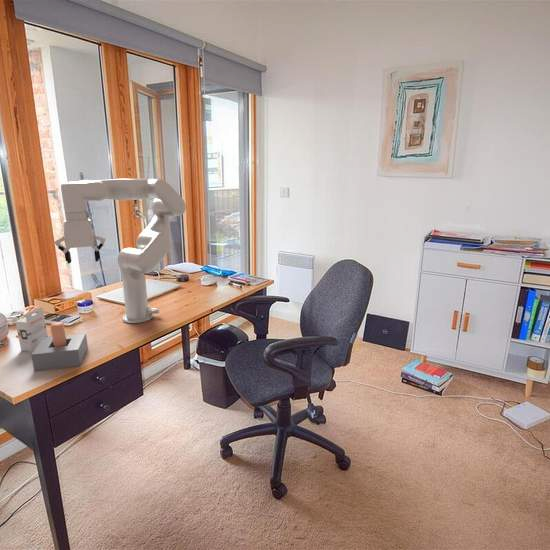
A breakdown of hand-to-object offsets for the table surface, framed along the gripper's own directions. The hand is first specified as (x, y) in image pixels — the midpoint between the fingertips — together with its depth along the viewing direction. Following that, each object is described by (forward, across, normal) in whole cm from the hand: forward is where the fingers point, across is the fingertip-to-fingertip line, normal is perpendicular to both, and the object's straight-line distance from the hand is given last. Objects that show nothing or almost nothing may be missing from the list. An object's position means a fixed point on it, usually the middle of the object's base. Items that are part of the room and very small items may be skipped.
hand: (83, 261), depth 149 cm
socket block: (+30, +7, +19) cm, 36 cm away
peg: (+30, +7, +19) cm, 36 cm away
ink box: (+30, +20, +6) cm, 36 cm away
